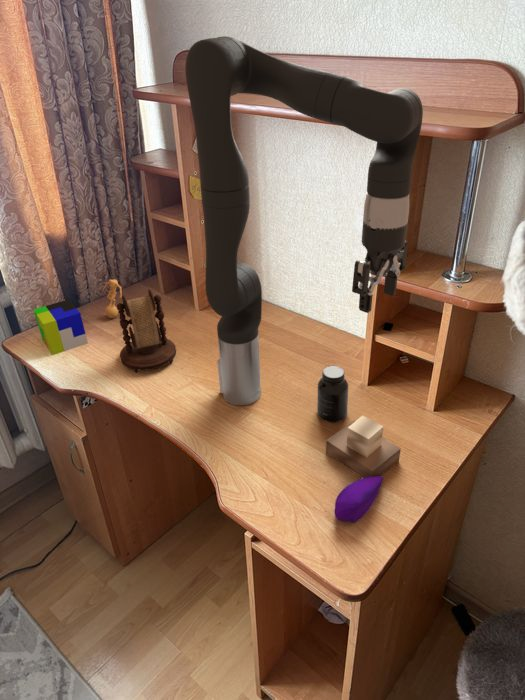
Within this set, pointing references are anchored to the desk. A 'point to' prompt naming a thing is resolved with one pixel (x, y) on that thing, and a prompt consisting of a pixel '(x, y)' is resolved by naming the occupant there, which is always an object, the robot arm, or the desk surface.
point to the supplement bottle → (332, 394)
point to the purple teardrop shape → (357, 498)
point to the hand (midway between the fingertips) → (377, 302)
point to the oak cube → (364, 436)
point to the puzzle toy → (61, 326)
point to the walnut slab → (358, 463)
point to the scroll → (144, 334)
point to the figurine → (112, 298)
